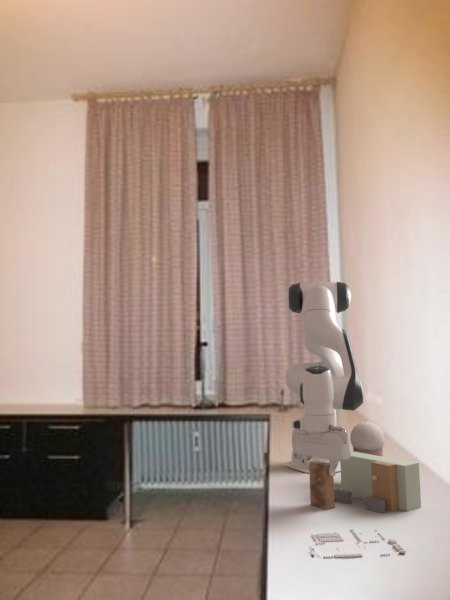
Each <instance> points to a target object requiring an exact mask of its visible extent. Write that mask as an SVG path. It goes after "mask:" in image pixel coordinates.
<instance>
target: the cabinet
mask: <svg viewBox="0 0 450 600" xmlns="http://www.w3.org/2000/svg"><path fill="white" fill-rule="evenodd" d="M350 453H351V457H350V459H349V461H345V462H340V465H341V471H340V485H341V488H336V489H335V488H334V501H336V502H340V503H344V504H351V503H353V498H354V499H355V498H356V499H358V500H363V501H365V509H366V510H369V511H371V512H376V513H380V514H383V513H385V512H386V510H388V511H390V512H393V511H397V510H401V511H406V512H410V511H412V510H416V509H420V508H422V499H421V498H422V497H421V496H422V495H421V483H420V482H421V477H420V463H419V462H417V461H415V462H414V461H412V460H411V461H410V460H406V459H405V460H404V459H399V458H392V457H387V456H383V457H382V456H376V455H371V454H365V453H359V452H353V451H350Z"/></svg>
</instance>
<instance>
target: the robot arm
mask: <svg viewBox="0 0 450 600" xmlns="http://www.w3.org/2000/svg"><path fill="white" fill-rule="evenodd" d="M285 300H286V303H287V307H288V309H289V310H290V311H291V312H292V313H296V314H301V327H302V328H301V329H302V333H303V346H304V348H305V349H306V351H308V352H309V353H311V354H312V355H315V356H317V357H319V358H320V359H321V361H319V362H299V363H296V364H294V363H293V364H291V365H289V366H288V367H287V369H286V371H285V374H284V382H285V384H286V387H287V388H288V390H290V391H291V392H292V393H294V394H295V395H296V396H297V397H298V398H299V401H300V403H301V404H302V405H303V417H301V418H298V419H295V420H293V421H291V428H292V432H291V448H292V451H291V460H290V461H287V462H286V463H285V467H287V468H291V469H292V470H293V469H294V470H295V471H296V470H297V471H298V472H299V471H300V472H302V473H305V474H307V473H308V474H309V462H313V461H320V462H325V463H330V464H331V465H330V468H329V469H327V472H328V473H327V475H328V476H333V477H335V476H336V473H337V472H341V465H340V462H345V461H349V459H350V457H351V453H350V452H351V448H350V447H351V446H350V440H349V437H348V432H347V431H346V429H344V427H343V426H338V423H337V422H338V421H337V420H338V419H337V410H345V411H353V412H355V411H356V410H357V409H358V408H360V407H361V406H362V405H363V403H364V401H365V390H364V389H365V388H364V386H363V384H362V381H361V379H360V376H359V372H358V368H357V364H356V360H355V356H354V352H353V348H352V345H351V341H350V338H349V335H348V332H347V331H346V330H345V329H344V328H341V326H340V325H339V324H338V322H337V316H336V315H337V314H339V313H342V312H346V310H347V309H349V306H350V304H351V302H352V293H351V290H350V288H349V285H348V284H347V283H345V282H341V281H336V282H335V281H334V282H333V281H314V282H313V281H311V282H305V283H300V282H298V283H297V282H296V283H293V284H291V285H290V286H289V287H288V290H287V292H286V299H285ZM336 313H337V314H336Z"/></svg>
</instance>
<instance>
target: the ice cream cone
mask: <svg viewBox="0 0 450 600" xmlns="http://www.w3.org/2000/svg"><path fill="white" fill-rule="evenodd" d="M349 439H350V440H349V441H350V443H351V447H353V448H352V450H353V451H352V452H359V453H365V454H371V455H376V456H382V457H384V456H383V455H384V454H383V453H384V452H383V451H384V450H383V447H384V445H385V434H384V431H383V430H382V429H381V427H380V426H379V425H378V424H377V423H374V422H372V421H360V422H359V423H357V424H356V425H355V426H354V427H352V430H351V432H350V438H349Z"/></svg>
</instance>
